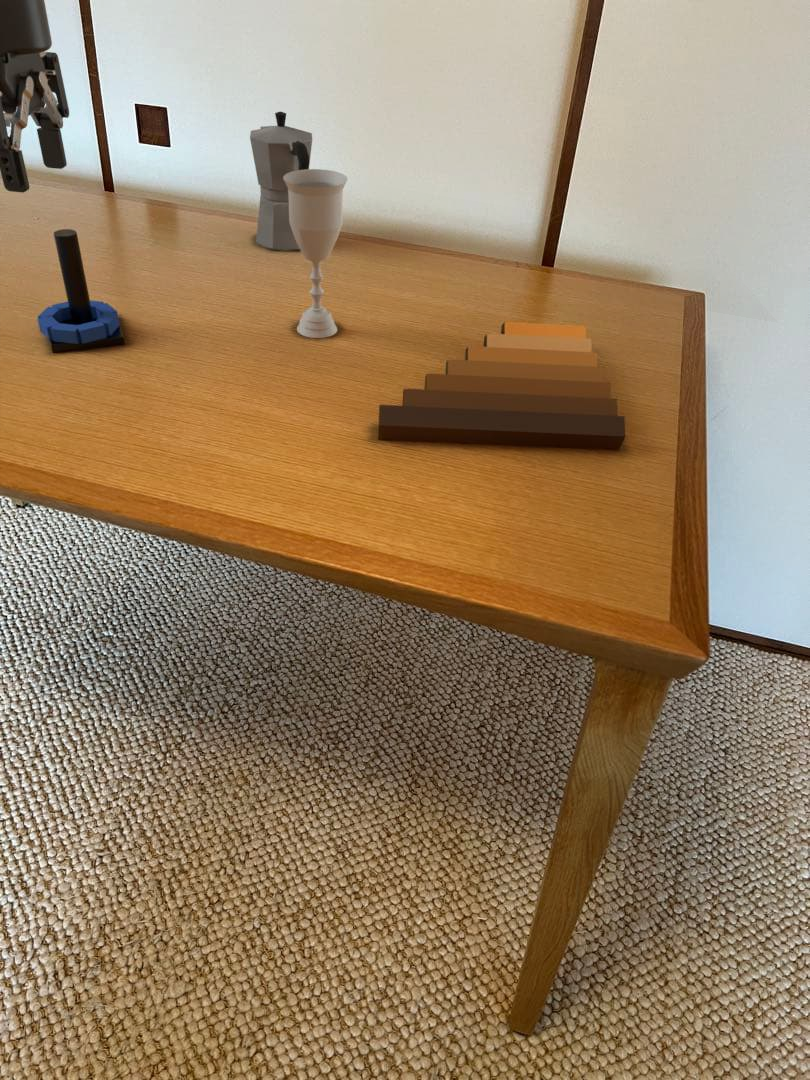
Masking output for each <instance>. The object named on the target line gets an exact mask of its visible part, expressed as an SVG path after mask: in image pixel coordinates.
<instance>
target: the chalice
mask: <svg viewBox="0 0 810 1080" xmlns="http://www.w3.org/2000/svg"><path fill="white" fill-rule="evenodd" d="M283 178H284V181H285V183H286V185H287V187H288V195H289V222H290V226H291V229H292V231H293V234H294V237H295V240H296V242H297V244H298V246H299V248H300V250H299V251H301V254H302V256H303V258H304V259H305V260H307V261H309V262H311V265H312V269H311V274H310V275H309V279H310V280H311V282H312V286H311V289H310V290H309V291H308V292H309V294H310V295H311V298H312V305H311V306H310V307H309V308H307V309H305V310H304V312H302V314H301V318H300V320H299V324H298V325H297V327H296V331H297V333H298V334H299V335H302V336H303V337H307V338H311V339H323V338H329V337H331V336H332V337H333V336H335V334H337V332H338V326H337V325H336V323H335V320H334V318H333V316H332V313H331V312H330V311H329V310H328V309H327V308H325V307H324V306H323V305H322V295H323V294H324V293H325V291H324V290H323V289H322V286H321V285H322V284H321V283H322V280H323V278H324V275H323V274H322V270H321V266H322V262H323V261H326V260H328V259H329V257H330V255H331V252H332V250H333V248H335V245H336V243H337V240H338V238H339V235H340V232H341V229H342V226H343V223H344V222H343V221H344V219H343V218H344V217H343V214H344V213H343V211H344V209H343V208H344V205H343V204H344V188H345V186H346V184H347V181H348V177H347V175H345V174H343V173H342V172H339V171H335V170H331V169H322V168H321V169H318V168H317V169H316V168H309V169H305V170H297V171H293V172H290V173H287V174H285V175H284V176H283Z"/></svg>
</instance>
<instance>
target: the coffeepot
mask: <svg viewBox="0 0 810 1080" xmlns="http://www.w3.org/2000/svg"><path fill="white" fill-rule="evenodd" d="M274 115H275V121H276V125H266V126H265V125H263V126H260V127H259V128H258V129H253V130H250V135H249V140H250V145H251V151H252V155H253V156H252V157H253V161H254V162H253V163H254V168H255V172H256V177H257V178H256V179H257V183H258V185H259V187H260V188H259V189H260V196H259V207H258V216H257V226H256V227H257V229H256V239H255V243H256V244H258V245H259V246H261V247H262V248H264V249H268V250H271V251H272V250H273V251H277V252H281V251H282V252H292V251H301V250H300V248H299V246H298V244H297V242H296V240H295V237H294V234H293V231H292V229H291V226H290V222H289V195H288V187H287V185H286V183H285V181H284V178H283V176H284V175H285V174H287V173H290V172H293V171H297V170H305V169H310V163H311V153H312V147H313V146H312V144H313V133H312V132H309V131H305V130H302V129H299V128H295V127H291V126H288V125H286V120H287V113H286V112H284V111H277V112H275V113H274Z"/></svg>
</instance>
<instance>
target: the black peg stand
mask: <svg viewBox="0 0 810 1080" xmlns="http://www.w3.org/2000/svg"><path fill="white" fill-rule="evenodd" d="M53 238H54V242H55V247H56V252H57V257H58V262H59V266H60V272H61V275H62V280H63V285H64V290H65V295H66V299H67V302H68V304H69V309H70V314H71V319H70V320H66V321H62V322H61V324H71V325H80V324H84V323H89V322H93V321H96V320H97V319H93V314H92V309H91V304H90V300H91V299H90V293H89V289H88V284H87V279H86V274H85V267H84V264H83V259H82V258H83V257H82V253H81V247H80V242H79V237H78V232H77V231H76V230H75V229H69V228H64V229H57V230H55V231H54V232H53ZM49 342H50V343H49V344H50V347H51V351H52V353H54V354H55V353H63V352H72V351H80V350H89V349H97V348H106V347H114V346H124V345H126V342H125V336H124V334H123V331H122V327H121V324H120V323H119V327H118V328H117V329H116V330H115V331H114V332H113V333H112V335H111V336H107V338H104V339H99V340H95V341H91V342H87V343H82V342H81V341H80V342H79V343H78V344H74V343H64V342H54V341H53V340H49Z"/></svg>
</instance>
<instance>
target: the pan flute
mask: <svg viewBox="0 0 810 1080" xmlns="http://www.w3.org/2000/svg"><path fill="white" fill-rule="evenodd" d="M586 328H587V326H586V325H575V324H574V325H573V324H557V323H536V322H518V321H517V322H515V321H504V322H503V323H502V324H501V327H500V333H486V334H485V335H484V337H483V344H482V345H483V346H478V345H477V346H476V345H467V347H466V348H465V355H464V359H453V358H451V359H450V358H448V359H447V360H446V362H445V373H426V374H425V376H424V389H419V388H403V390H402V405H394V404H379V408H378V409H379V411H378V428H377V429H378V430H377V432H378V433H377V434H378V435H377V440H382V441H383V440H385V441H387V440H388V441H408V442H427V443H430V442H431V443H451V444H452V443H453V444H474V445H497V446H518V447H519V446H520V447H538V448H539V447H541V448H560V449H561V448H563V449H564V448H565V449H584V450H585V449H586V450H609V451H620V449H621V447H622V445H623V443H624V441H625V439H626V421H625V420H626V418H625V415H618V411H619V410H618V398H612V397H611V382H609V381H605V376H604V374H605V373H604V372H605V371H604V366H598V352H597V351H596V352H595V351H592V349H593V347H592V338H587V329H586Z"/></svg>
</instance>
